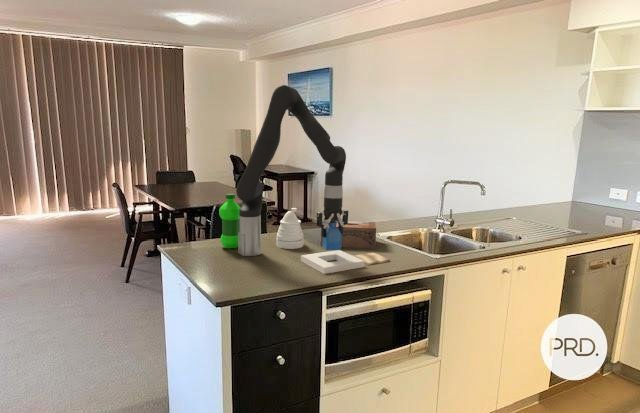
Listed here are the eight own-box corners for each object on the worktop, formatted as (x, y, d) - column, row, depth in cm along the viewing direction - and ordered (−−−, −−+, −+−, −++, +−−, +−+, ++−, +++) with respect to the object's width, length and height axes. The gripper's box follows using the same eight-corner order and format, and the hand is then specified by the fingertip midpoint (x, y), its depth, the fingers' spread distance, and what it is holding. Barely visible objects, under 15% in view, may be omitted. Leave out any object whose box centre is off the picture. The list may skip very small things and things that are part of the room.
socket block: (324, 273, 171) (324, 267, 170) (300, 261, 187) (301, 255, 186) (364, 266, 180) (364, 261, 180) (339, 255, 196) (339, 249, 196)
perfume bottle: (326, 250, 179) (327, 221, 177) (322, 246, 184) (323, 217, 182) (341, 249, 180) (342, 220, 178) (336, 245, 186) (337, 217, 184)
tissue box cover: (374, 241, 223) (375, 222, 221) (375, 249, 209) (376, 228, 207) (323, 239, 226) (324, 220, 224) (320, 246, 212) (321, 226, 210)
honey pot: (305, 242, 218) (305, 206, 215) (301, 249, 205) (301, 211, 202) (279, 241, 219) (279, 205, 216) (274, 248, 207) (273, 210, 204)
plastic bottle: (230, 251, 200) (229, 196, 196) (215, 247, 206) (213, 194, 202) (247, 247, 208) (246, 194, 204) (231, 243, 214) (230, 192, 210)
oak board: (367, 265, 183) (367, 263, 183) (350, 257, 193) (350, 255, 193) (390, 261, 189) (390, 259, 189) (372, 254, 199) (373, 252, 199)
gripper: (343, 193, 185) (341, 232, 188) (313, 195, 178) (312, 235, 181) (353, 196, 179) (351, 236, 182) (322, 198, 172) (321, 240, 175)
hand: (332, 236), depth 182 cm, fingers closed on perfume bottle, 7 cm apart
